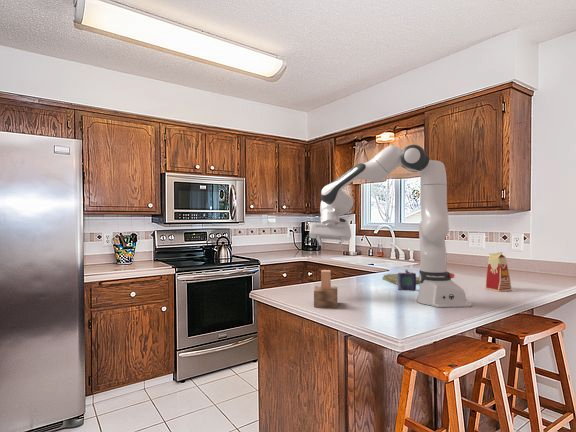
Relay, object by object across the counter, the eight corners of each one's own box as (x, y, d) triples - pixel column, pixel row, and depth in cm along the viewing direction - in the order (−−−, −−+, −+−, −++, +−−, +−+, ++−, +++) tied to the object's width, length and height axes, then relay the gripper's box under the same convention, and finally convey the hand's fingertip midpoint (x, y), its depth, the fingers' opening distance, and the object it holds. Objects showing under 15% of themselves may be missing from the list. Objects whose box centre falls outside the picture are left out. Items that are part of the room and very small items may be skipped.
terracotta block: (330, 288, 163) (330, 270, 163) (330, 289, 159) (330, 271, 159) (321, 287, 163) (321, 270, 163) (321, 289, 159) (321, 271, 159)
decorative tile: (406, 278, 227) (406, 272, 227) (426, 284, 208) (426, 278, 208) (379, 280, 222) (379, 274, 222) (397, 286, 203) (397, 280, 203)
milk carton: (511, 290, 188) (511, 251, 188) (499, 292, 185) (498, 252, 185) (495, 287, 197) (495, 250, 197) (483, 288, 193) (483, 251, 193)
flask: (397, 290, 191) (397, 269, 191) (397, 289, 194) (397, 268, 194) (416, 290, 189) (416, 270, 189) (415, 289, 192) (415, 269, 192)
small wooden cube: (337, 302, 166) (337, 286, 165) (337, 307, 156) (337, 291, 156) (315, 301, 167) (315, 286, 167) (314, 307, 157) (313, 291, 157)
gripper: (309, 217, 179) (309, 239, 170) (350, 220, 179) (352, 243, 170) (308, 225, 184) (307, 247, 175) (348, 228, 184) (350, 250, 175)
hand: (330, 245), depth 172 cm, fingers open, 8 cm apart
